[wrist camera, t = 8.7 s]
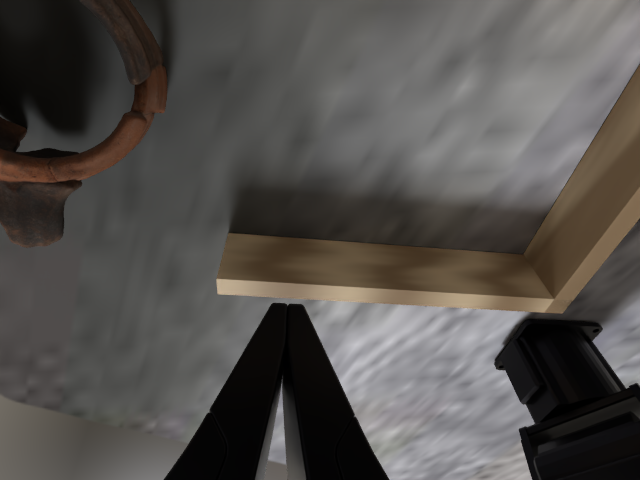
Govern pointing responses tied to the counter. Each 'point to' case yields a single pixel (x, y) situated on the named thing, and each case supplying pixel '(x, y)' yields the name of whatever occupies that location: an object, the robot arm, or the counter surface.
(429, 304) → the wooden frame
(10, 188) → the pottery mug
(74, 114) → the counter surface
